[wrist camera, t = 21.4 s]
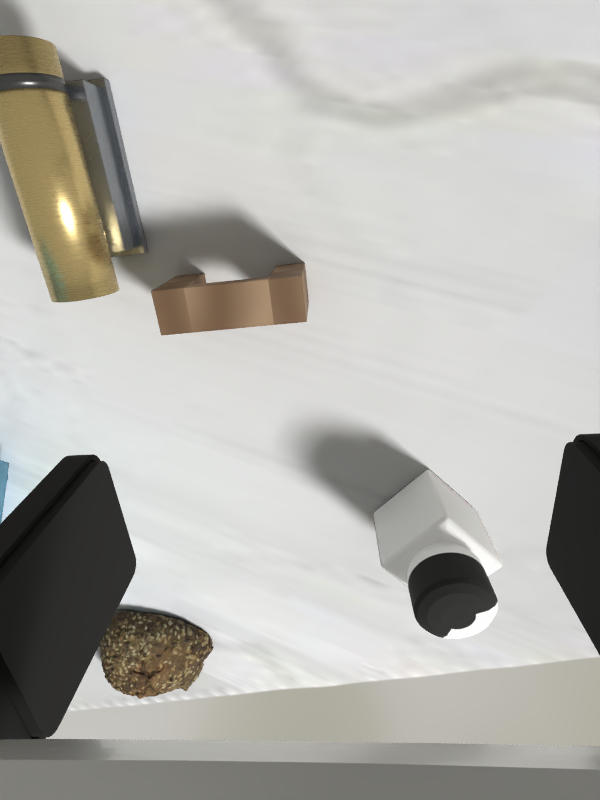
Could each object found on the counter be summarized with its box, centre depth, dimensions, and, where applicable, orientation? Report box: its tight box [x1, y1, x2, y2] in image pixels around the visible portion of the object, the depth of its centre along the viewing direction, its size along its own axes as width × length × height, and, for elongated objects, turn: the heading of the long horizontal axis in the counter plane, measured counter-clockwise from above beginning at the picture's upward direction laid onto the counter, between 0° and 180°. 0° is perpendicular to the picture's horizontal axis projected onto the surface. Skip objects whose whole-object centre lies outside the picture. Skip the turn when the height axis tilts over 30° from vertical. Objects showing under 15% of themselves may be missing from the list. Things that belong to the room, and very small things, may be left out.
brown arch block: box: [151, 263, 309, 335], centre depth 34 cm, size 10×3×6 cm, turn 96°
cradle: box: [66, 78, 148, 257], centre depth 32 cm, size 6×11×3 cm, turn 6°
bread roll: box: [99, 610, 213, 699], centre depth 52 cm, size 13×12×5 cm
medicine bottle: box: [373, 470, 502, 639], centre depth 39 cm, size 7×7×12 cm
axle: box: [0, 35, 119, 302], centre depth 29 cm, size 14×4×4 cm, turn 6°
